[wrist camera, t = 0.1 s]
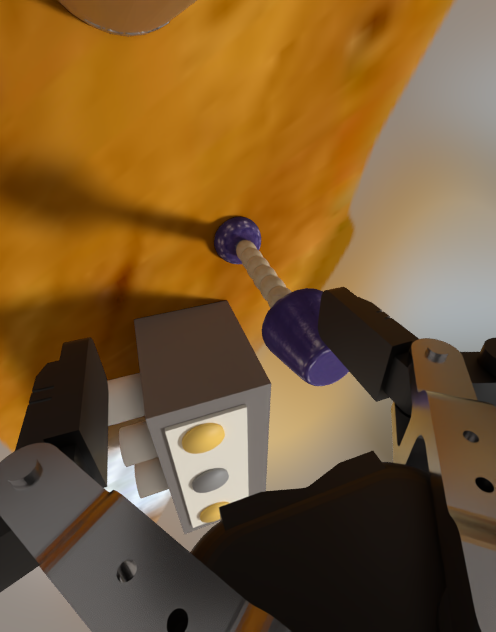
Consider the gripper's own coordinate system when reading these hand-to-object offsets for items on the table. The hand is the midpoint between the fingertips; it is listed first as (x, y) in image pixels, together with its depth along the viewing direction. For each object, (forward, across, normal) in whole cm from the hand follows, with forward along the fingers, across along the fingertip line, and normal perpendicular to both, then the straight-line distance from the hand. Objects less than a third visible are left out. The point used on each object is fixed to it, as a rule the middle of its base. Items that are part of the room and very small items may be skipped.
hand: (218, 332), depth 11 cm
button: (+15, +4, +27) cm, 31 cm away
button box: (+19, 0, +20) cm, 27 cm away
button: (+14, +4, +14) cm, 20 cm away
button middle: (+14, +4, +20) cm, 25 cm away
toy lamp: (+18, -6, +3) cm, 19 cm away
